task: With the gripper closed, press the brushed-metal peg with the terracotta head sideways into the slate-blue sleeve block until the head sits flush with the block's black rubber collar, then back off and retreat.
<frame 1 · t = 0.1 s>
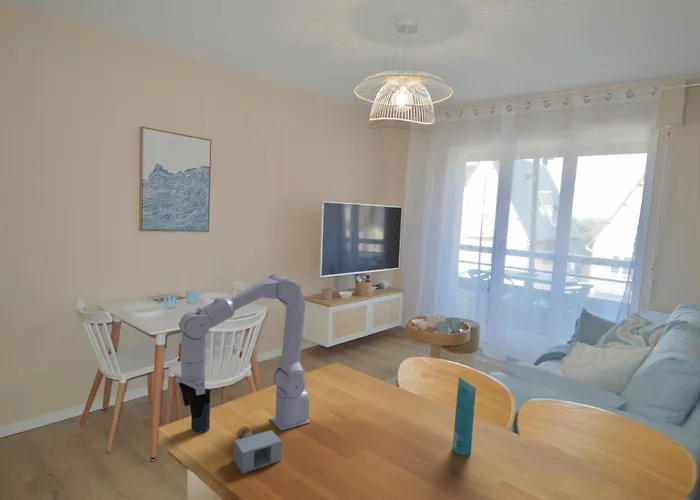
hand: (192, 410, 106), 10 cm above the table, tool pointing down, fingers open, 7 cm apart
peg: (248, 439, 108), point 3 cm above the table, slide at 0.0 cm
vaping device: (200, 430, 116), on the table
tube: (461, 451, 112), on the table
sleeve block: (257, 460, 103), on the table
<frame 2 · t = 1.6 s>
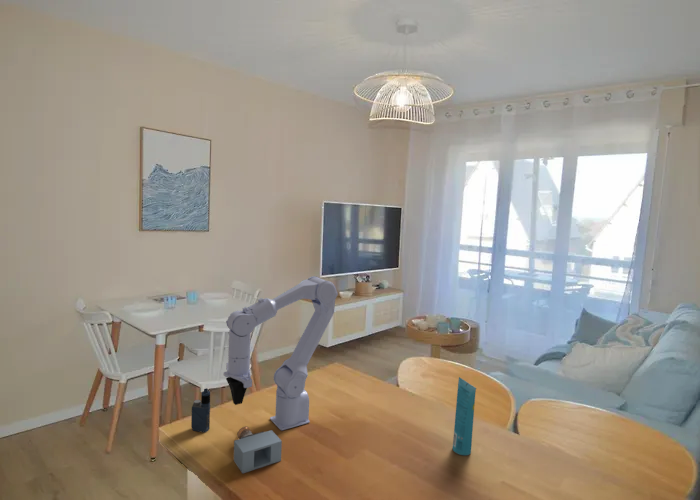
hand: (237, 403, 114), 9 cm above the table, tool pointing down, fingers closed
nothing on the table moved.
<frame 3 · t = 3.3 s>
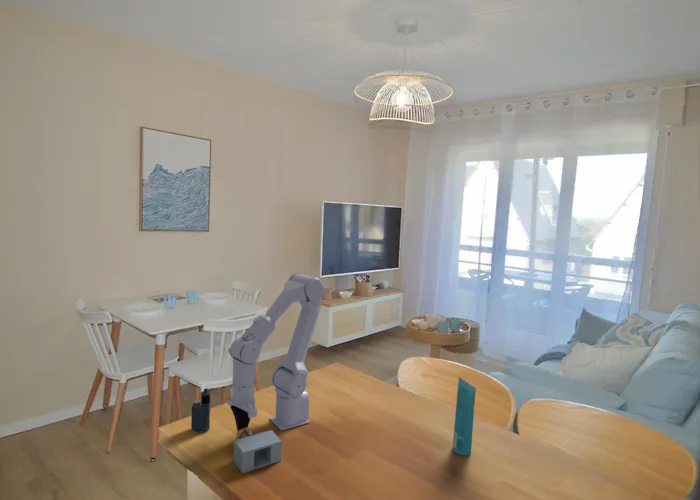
hand: (242, 431, 111), 2 cm above the table, tool pointing down, fingers closed
peg: (248, 439, 108), point 3 cm above the table, slide at 0.0 cm, touching gripper
everything else where it was.
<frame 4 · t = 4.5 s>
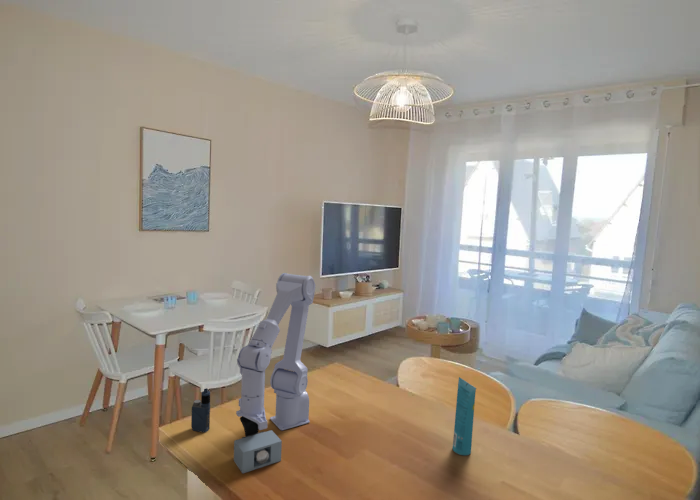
hand: (251, 443, 106), 2 cm above the table, tool pointing down, fingers closed, pressing on peg, sleeve block
peg: (257, 450, 103), point 3 cm above the table, slide at 5.9 cm, touching gripper
everything else where it was.
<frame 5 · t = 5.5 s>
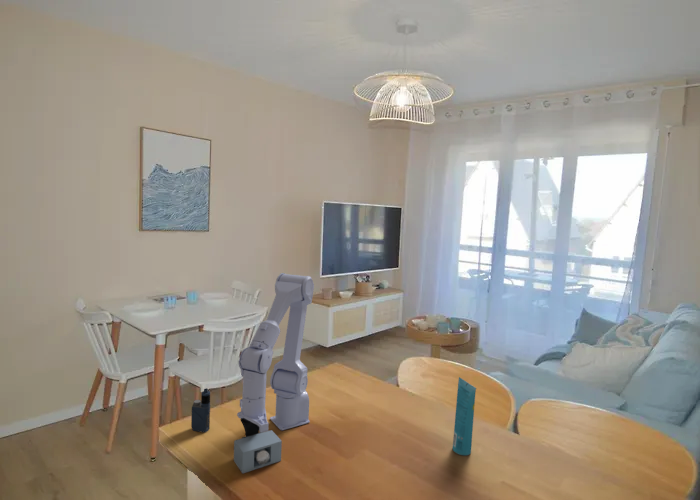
hand: (252, 444, 106), 2 cm above the table, tool pointing down, fingers closed, pressing on sleeve block
peg: (258, 451, 102), point 3 cm above the table, slide at 6.2 cm, touching gripper
everything else where it was.
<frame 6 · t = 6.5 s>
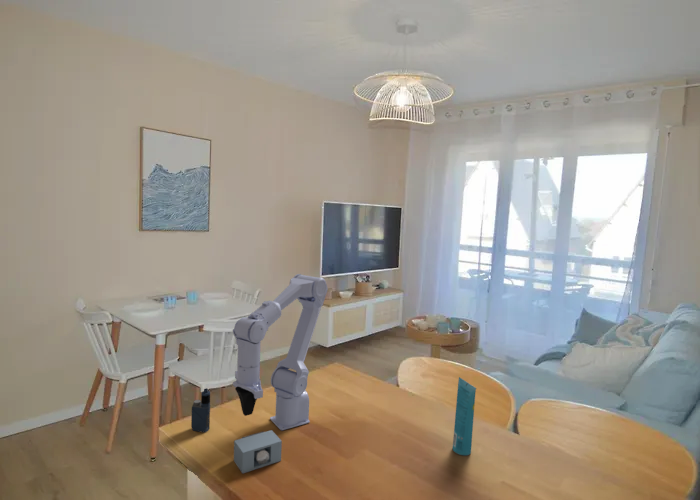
hand: (247, 413, 108), 9 cm above the table, tool pointing down, fingers closed
peg: (257, 450, 103), point 3 cm above the table, slide at 6.1 cm
everything else where it was.
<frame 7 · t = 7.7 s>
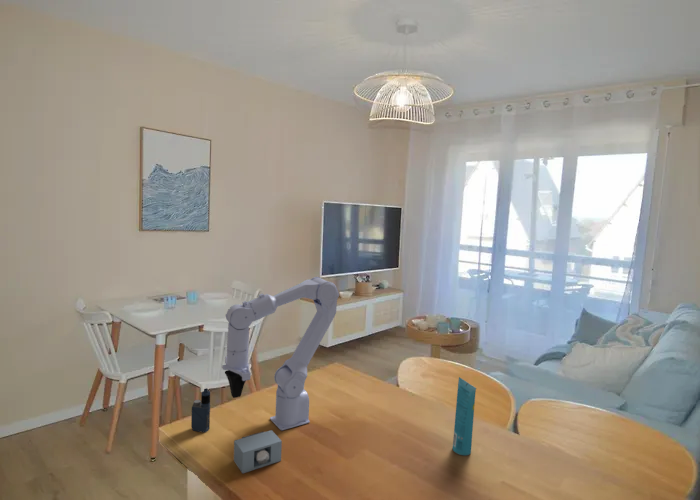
hand: (236, 396, 114), 10 cm above the table, tool pointing down, fingers closed
nothing on the table moved.
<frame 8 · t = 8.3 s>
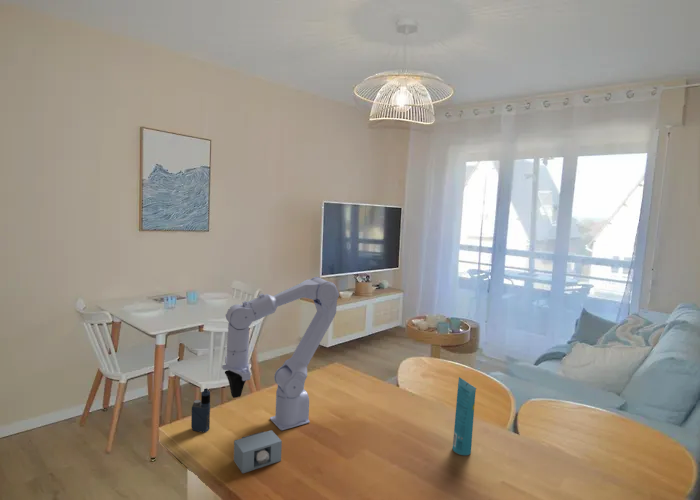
hand: (236, 396, 114), 10 cm above the table, tool pointing down, fingers closed
nothing on the table moved.
at the end: peg slide at 6.1 cm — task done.
